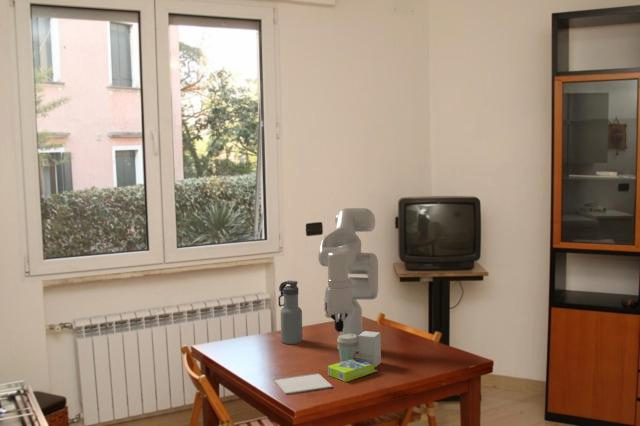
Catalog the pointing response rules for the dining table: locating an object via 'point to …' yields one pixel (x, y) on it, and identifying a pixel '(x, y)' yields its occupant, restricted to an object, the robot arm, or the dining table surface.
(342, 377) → the box
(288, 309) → the water bottle
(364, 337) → the supplement box
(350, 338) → the coffee cup
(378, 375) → the dining table surface
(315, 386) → the mat
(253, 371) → the dining table surface
